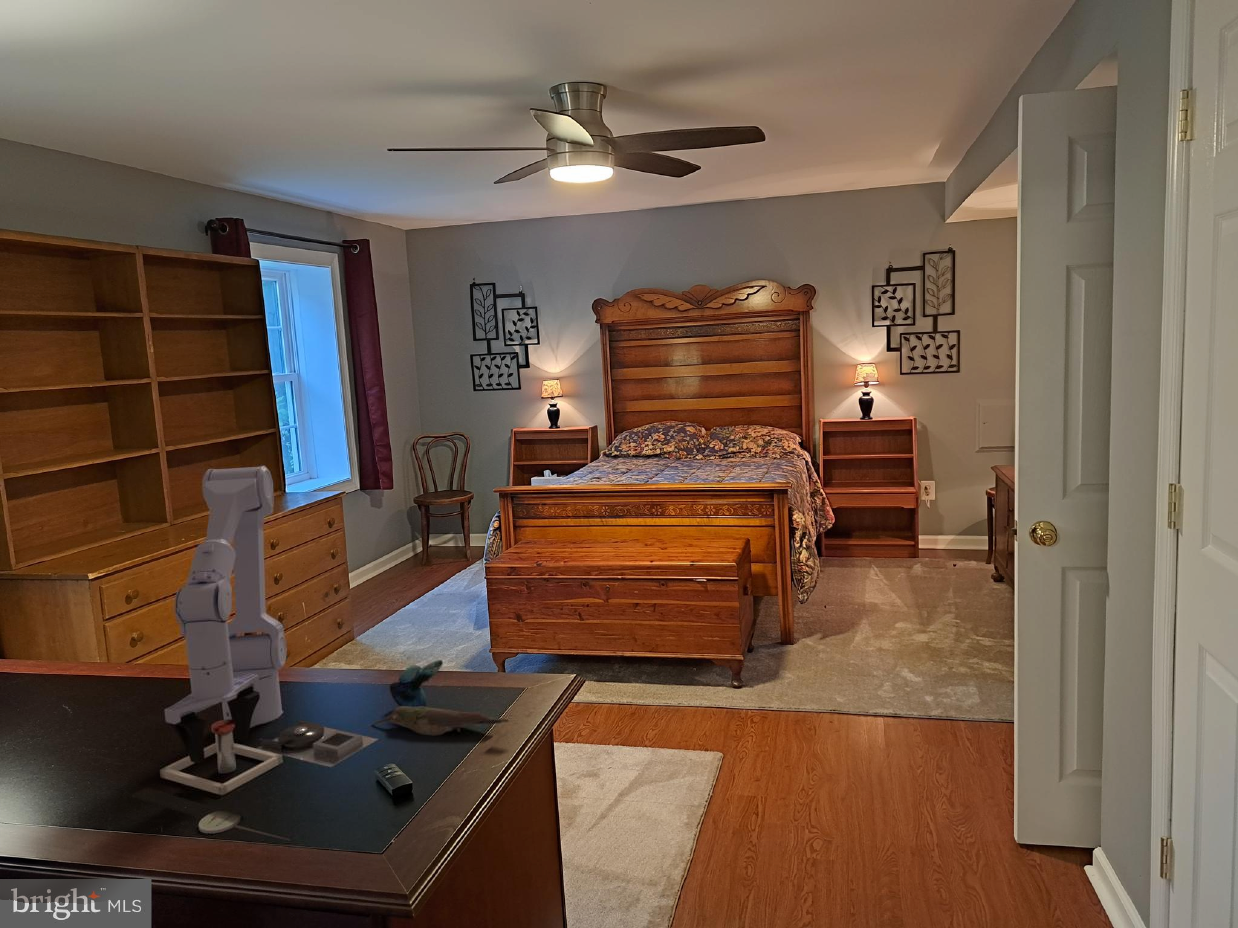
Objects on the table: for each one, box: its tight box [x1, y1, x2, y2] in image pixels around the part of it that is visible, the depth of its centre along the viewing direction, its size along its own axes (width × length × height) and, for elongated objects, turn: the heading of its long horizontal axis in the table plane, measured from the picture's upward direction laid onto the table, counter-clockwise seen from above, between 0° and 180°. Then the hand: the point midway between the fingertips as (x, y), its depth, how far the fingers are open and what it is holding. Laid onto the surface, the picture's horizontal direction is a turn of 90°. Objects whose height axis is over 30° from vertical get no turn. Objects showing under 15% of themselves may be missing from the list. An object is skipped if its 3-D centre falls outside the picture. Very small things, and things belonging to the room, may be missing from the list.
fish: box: [389, 659, 444, 707], centre depth 149 cm, size 4×10×10 cm, turn 78°
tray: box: [159, 742, 284, 796], centre depth 131 cm, size 14×11×2 cm
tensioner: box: [255, 719, 379, 768], centre depth 138 cm, size 16×10×3 cm, turn 62°
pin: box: [210, 719, 237, 774], centre depth 130 cm, size 3×3×8 cm
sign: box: [198, 809, 292, 842], centre depth 116 cm, size 5×1×15 cm
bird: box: [369, 706, 509, 736], centre depth 141 cm, size 25×5×5 cm, turn 76°
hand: (220, 750), depth 130 cm, fingers open, 7 cm apart
